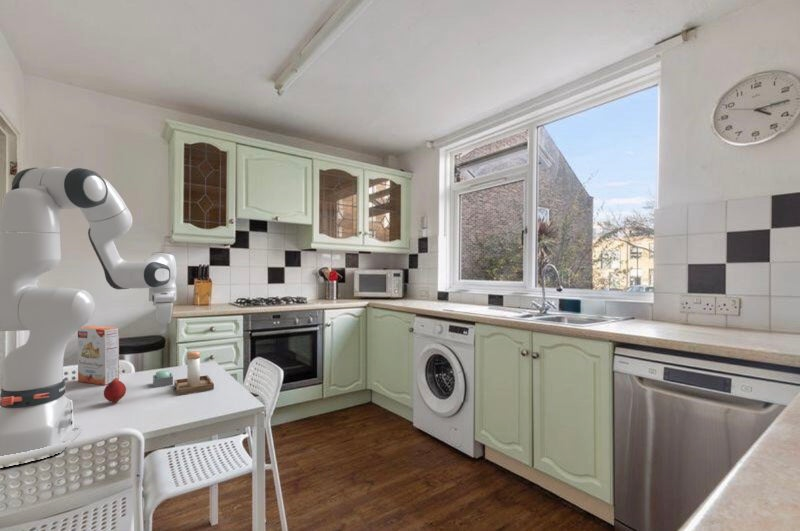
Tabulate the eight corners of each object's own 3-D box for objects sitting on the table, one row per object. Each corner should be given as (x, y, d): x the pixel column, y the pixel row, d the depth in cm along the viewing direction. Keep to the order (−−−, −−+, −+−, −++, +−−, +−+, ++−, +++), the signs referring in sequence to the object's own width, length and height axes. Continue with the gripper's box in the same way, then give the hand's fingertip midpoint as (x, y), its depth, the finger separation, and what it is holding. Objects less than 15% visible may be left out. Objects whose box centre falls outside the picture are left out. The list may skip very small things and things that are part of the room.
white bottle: (201, 385, 140) (201, 352, 140) (187, 387, 137) (187, 354, 137) (199, 382, 143) (199, 350, 143) (186, 384, 141) (186, 352, 141)
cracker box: (76, 382, 146) (76, 327, 146) (93, 377, 152) (93, 324, 151) (103, 386, 142) (103, 329, 142) (119, 381, 147) (119, 326, 147)
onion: (114, 406, 121) (114, 381, 121) (99, 405, 122) (99, 380, 122) (130, 400, 127) (130, 376, 127) (115, 399, 128) (115, 375, 128)
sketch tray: (213, 389, 138) (213, 383, 138) (177, 395, 132) (177, 389, 132) (207, 380, 149) (207, 375, 149) (174, 385, 142) (174, 380, 142)
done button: (170, 383, 144) (170, 372, 144) (156, 385, 141) (156, 374, 141) (169, 380, 147) (169, 369, 147) (155, 382, 145) (155, 371, 145)
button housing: (172, 384, 143) (172, 376, 143) (153, 387, 140) (153, 379, 140) (171, 380, 148) (171, 372, 148) (152, 383, 145) (152, 375, 145)
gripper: (151, 294, 151) (151, 330, 151) (154, 297, 134) (153, 337, 134) (170, 294, 154) (170, 328, 154) (175, 297, 138) (174, 335, 137)
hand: (162, 333), depth 144 cm, fingers closed
